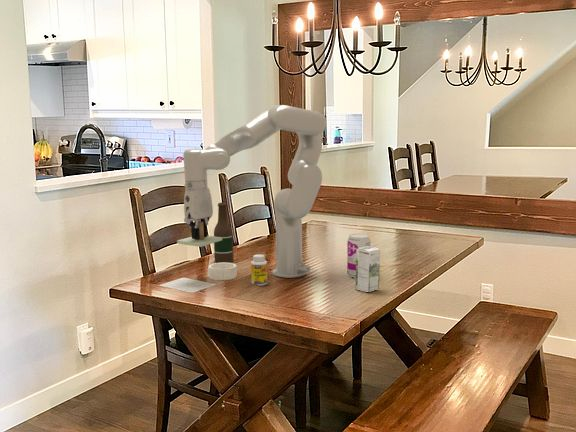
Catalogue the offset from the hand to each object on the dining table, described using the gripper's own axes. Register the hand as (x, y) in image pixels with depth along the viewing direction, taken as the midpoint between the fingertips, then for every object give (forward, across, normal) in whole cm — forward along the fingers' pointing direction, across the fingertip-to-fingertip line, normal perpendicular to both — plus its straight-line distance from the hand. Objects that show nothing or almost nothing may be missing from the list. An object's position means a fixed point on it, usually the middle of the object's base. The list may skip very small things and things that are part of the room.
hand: (199, 237), depth 213 cm
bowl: (+17, +9, -2) cm, 19 cm away
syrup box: (+18, +23, -53) cm, 60 cm away
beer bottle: (+17, +27, +13) cm, 35 cm away
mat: (+16, -6, +2) cm, 17 cm away
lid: (+2, 0, 0) cm, 2 cm away
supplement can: (+18, +38, -42) cm, 59 cm away
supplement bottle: (+17, +10, -18) cm, 27 cm away
